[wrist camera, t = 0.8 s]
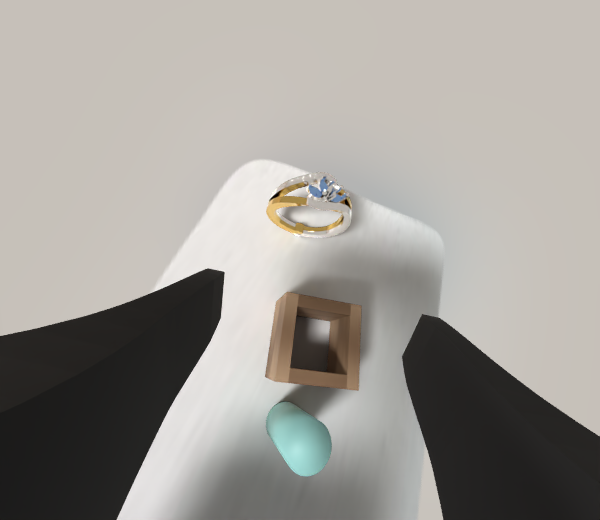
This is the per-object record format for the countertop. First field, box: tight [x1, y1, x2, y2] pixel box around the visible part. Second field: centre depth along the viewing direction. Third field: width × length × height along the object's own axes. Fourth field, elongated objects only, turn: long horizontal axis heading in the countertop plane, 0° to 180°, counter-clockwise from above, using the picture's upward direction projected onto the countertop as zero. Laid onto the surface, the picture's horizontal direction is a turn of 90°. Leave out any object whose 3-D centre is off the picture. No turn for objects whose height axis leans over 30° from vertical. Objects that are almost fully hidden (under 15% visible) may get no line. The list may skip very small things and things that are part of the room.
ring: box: [266, 172, 352, 238], centre depth 23 cm, size 7×3×8 cm, turn 78°
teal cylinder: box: [266, 402, 332, 476], centre depth 18 cm, size 3×3×6 cm
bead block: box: [265, 292, 362, 390], centre depth 21 cm, size 6×6×4 cm
